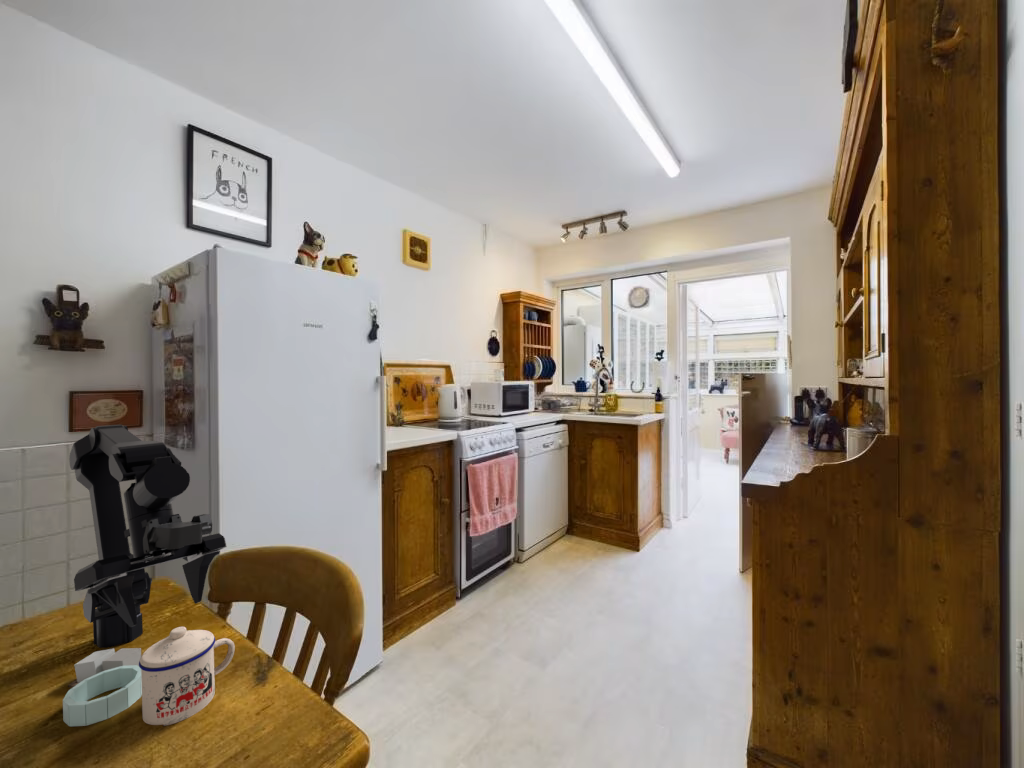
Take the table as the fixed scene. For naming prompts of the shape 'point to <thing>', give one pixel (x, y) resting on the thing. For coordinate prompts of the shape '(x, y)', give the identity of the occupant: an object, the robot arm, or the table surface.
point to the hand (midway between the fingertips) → (167, 613)
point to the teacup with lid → (180, 675)
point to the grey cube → (122, 658)
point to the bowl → (105, 707)
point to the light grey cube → (91, 664)
